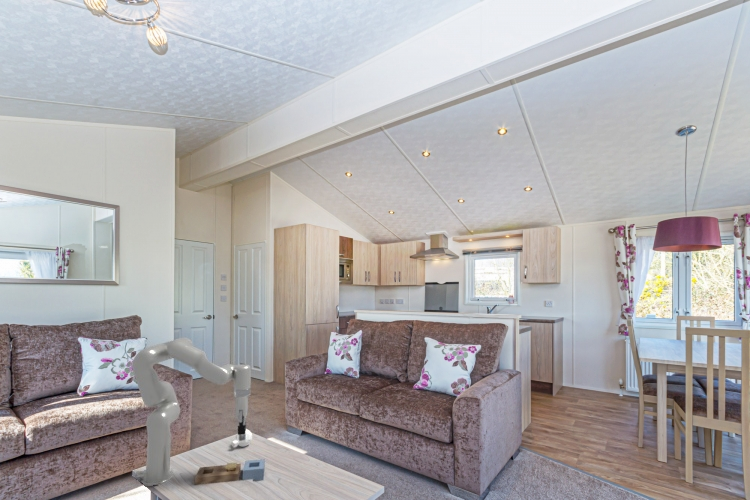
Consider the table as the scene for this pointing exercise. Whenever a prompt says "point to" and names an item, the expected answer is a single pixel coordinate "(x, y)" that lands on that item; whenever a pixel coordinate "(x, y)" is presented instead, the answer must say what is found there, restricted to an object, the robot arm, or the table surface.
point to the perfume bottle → (243, 442)
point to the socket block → (216, 474)
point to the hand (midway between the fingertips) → (241, 432)
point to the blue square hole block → (254, 470)
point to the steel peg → (242, 435)
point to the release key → (231, 466)
